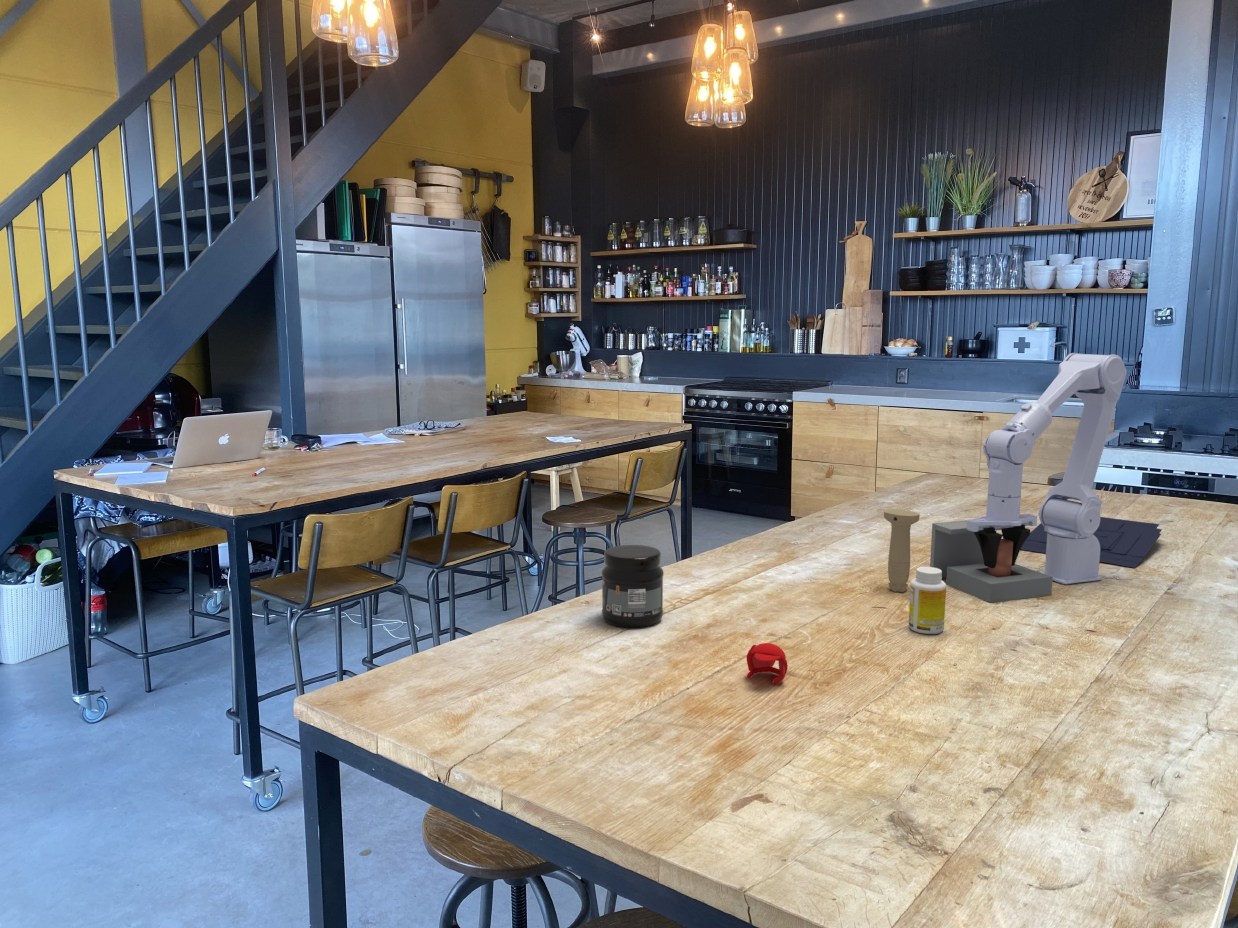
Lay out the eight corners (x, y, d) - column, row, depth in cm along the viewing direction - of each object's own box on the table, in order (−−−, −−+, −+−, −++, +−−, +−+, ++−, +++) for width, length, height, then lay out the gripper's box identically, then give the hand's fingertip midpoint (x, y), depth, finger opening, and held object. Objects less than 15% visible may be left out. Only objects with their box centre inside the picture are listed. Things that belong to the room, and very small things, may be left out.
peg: (998, 578, 175) (1001, 537, 173) (1015, 584, 171) (1018, 542, 170) (982, 580, 173) (985, 539, 172) (998, 586, 170) (1001, 544, 168)
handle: (907, 596, 168) (911, 517, 166) (876, 589, 173) (879, 512, 170) (919, 590, 172) (923, 513, 169) (888, 584, 176) (891, 508, 174)
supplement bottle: (951, 632, 149) (954, 571, 148) (925, 637, 147) (929, 576, 145) (926, 622, 154) (929, 563, 153) (901, 626, 152) (904, 567, 150)
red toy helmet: (743, 669, 134) (744, 633, 133) (781, 670, 134) (782, 634, 133) (749, 690, 127) (750, 652, 126) (789, 690, 126) (790, 652, 125)
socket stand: (986, 571, 185) (990, 518, 183) (1051, 594, 169) (1055, 537, 167) (929, 577, 180) (932, 523, 179) (990, 602, 165) (994, 543, 163)
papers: (1168, 536, 209) (1169, 521, 208) (1135, 580, 187) (1136, 563, 186) (1055, 521, 224) (1055, 507, 223) (1013, 559, 203) (1013, 544, 202)
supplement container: (632, 605, 163) (632, 540, 161) (676, 619, 156) (676, 551, 154) (589, 619, 156) (588, 551, 154) (632, 634, 149) (632, 563, 147)
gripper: (987, 501, 163) (982, 574, 166) (1051, 496, 168) (1046, 567, 170) (960, 494, 170) (956, 564, 172) (1023, 489, 175) (1018, 558, 177)
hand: (999, 565), depth 172 cm, fingers closed on peg, 4 cm apart
